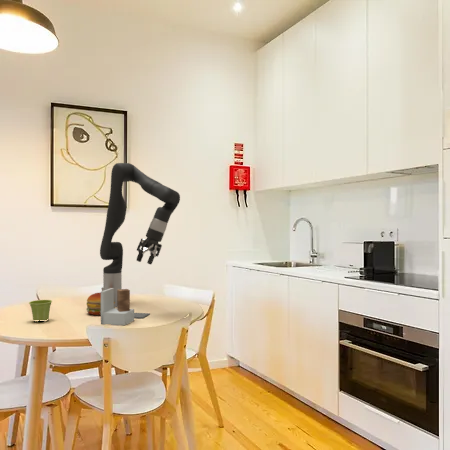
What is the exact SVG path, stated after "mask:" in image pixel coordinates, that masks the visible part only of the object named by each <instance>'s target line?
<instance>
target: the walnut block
mask: <svg viewBox="0 0 450 450" xmlns="http://www.w3.org/2000/svg"><path fill="white" fill-rule="evenodd" d="M130 296H131V290H130V289H129V288H122V289H118V290H117V310H118V311H119V312H122V311H130V309H131V305H130V304H131V302H130V301H131V300H130V299H131V298H130Z"/></svg>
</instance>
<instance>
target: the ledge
mask: <svg viewBox="0 0 450 450" xmlns="http://www.w3.org/2000/svg"><path fill="white" fill-rule="evenodd" d="M100 293H101V315H100V325H105V324H111V325H110V326H126V325H128V324H131V323H132V322H133V321H135V318H134V313H135V309H134V308H130V311H122V312H119V311H118V310H117V308H116V307H115V308H114V288H110V289H107V290H104V291H102V290H101V291H100Z"/></svg>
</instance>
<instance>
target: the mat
mask: <svg viewBox="0 0 450 450" xmlns="http://www.w3.org/2000/svg"><path fill="white" fill-rule="evenodd" d="M150 315H151V313H150V312H149V313H147V312H134V319H145V318H147V317H148V316H150Z"/></svg>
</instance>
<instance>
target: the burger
mask: <svg viewBox="0 0 450 450" xmlns="http://www.w3.org/2000/svg"><path fill="white" fill-rule="evenodd" d="M114 303H115V302H114ZM114 308H116V307H114ZM86 312H87V313H88V314H89V315H93V316H101V292H95V293H92V294H91V295H89V296H88V297H87V298H86Z"/></svg>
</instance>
